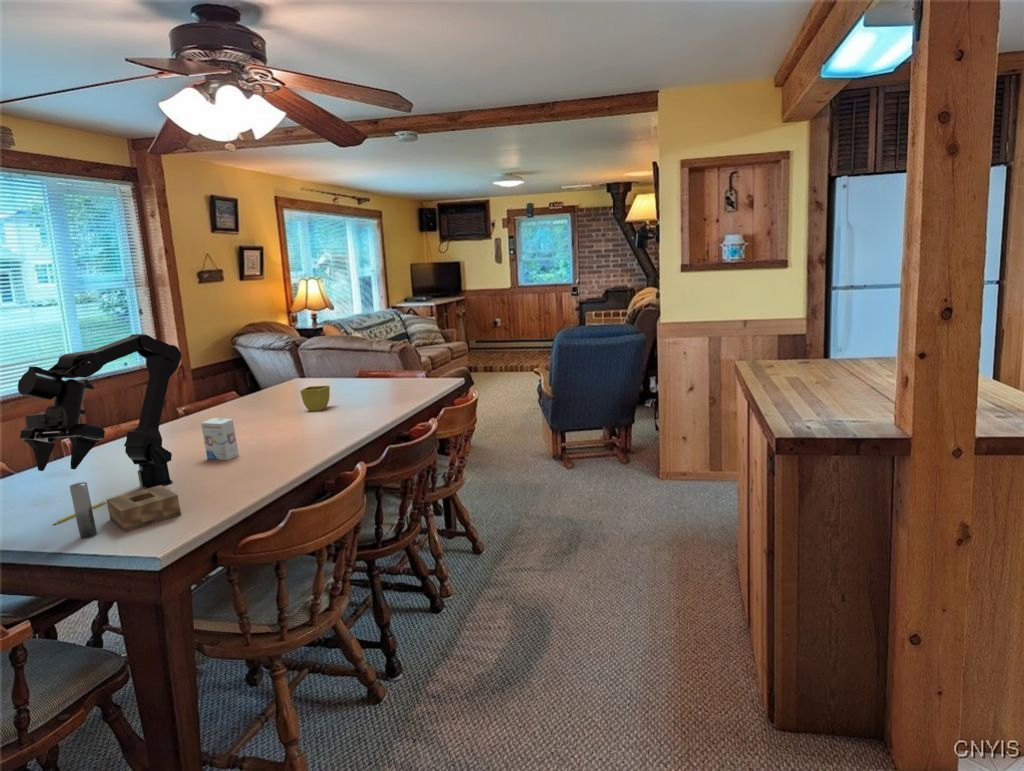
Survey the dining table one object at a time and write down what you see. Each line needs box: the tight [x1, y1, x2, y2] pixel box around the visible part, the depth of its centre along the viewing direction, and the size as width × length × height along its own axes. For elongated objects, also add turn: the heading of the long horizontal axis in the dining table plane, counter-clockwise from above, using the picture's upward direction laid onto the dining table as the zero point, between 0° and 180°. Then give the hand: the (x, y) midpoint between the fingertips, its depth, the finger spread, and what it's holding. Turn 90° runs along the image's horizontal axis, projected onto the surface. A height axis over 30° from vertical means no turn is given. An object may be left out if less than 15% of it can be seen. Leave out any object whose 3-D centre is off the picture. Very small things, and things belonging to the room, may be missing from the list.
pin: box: [69, 481, 98, 540], centre depth 145 cm, size 3×3×12 cm
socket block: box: [106, 485, 182, 533], centre depth 154 cm, size 12×12×5 cm
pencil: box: [51, 500, 107, 527], centre depth 160 cm, size 1×14×1 cm, turn 162°
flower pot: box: [299, 385, 331, 412], centre depth 259 cm, size 9×9×9 cm
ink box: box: [200, 417, 240, 461], centre depth 200 cm, size 9×5×12 cm, turn 70°
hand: (56, 470), depth 152 cm, fingers open, 9 cm apart
